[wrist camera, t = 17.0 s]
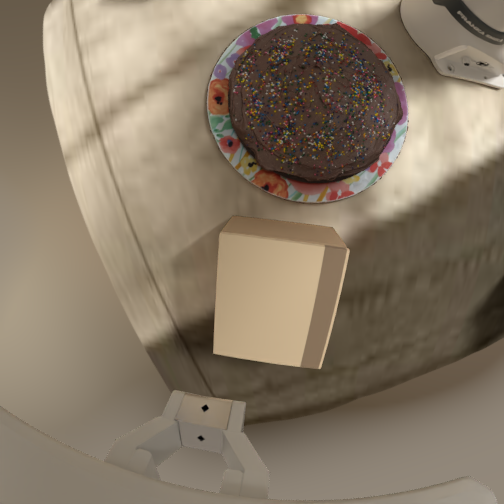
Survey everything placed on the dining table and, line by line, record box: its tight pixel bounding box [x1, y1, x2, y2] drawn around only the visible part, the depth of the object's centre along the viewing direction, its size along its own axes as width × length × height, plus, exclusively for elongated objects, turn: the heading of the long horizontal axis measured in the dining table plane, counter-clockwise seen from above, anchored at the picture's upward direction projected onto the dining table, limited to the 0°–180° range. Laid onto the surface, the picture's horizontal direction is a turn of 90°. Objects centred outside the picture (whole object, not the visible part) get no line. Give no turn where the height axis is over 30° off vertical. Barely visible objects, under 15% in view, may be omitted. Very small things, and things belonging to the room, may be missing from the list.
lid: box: [213, 232, 350, 369], centre depth 34 cm, size 14×16×1 cm
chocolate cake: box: [206, 14, 409, 203], centre depth 33 cm, size 28×28×7 cm
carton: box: [221, 216, 346, 248], centre depth 39 cm, size 14×16×9 cm
